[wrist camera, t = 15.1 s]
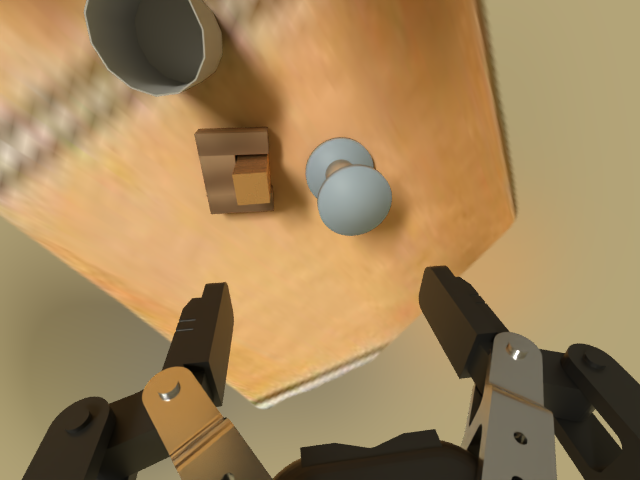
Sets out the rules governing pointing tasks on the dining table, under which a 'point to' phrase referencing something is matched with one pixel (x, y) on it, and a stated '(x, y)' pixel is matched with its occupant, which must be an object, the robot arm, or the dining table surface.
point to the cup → (155, 42)
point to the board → (229, 164)
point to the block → (252, 179)
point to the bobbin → (347, 187)
